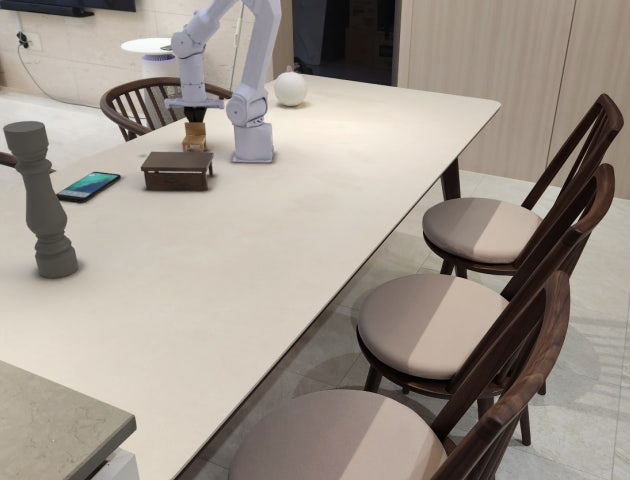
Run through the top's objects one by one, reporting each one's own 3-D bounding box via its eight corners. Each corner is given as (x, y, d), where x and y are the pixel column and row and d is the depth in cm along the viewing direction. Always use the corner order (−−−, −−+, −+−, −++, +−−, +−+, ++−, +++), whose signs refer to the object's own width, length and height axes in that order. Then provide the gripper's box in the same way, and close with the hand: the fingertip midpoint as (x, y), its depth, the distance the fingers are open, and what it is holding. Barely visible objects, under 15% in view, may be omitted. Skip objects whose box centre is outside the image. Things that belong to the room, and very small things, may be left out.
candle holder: (46, 260, 111) (10, 120, 99) (83, 260, 112) (52, 120, 99) (33, 278, 106) (-7, 132, 93) (72, 278, 107) (37, 132, 94)
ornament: (279, 99, 207) (278, 61, 201) (310, 102, 206) (309, 64, 200) (271, 108, 199) (269, 68, 192) (303, 110, 198) (302, 71, 191)
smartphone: (52, 195, 133) (94, 170, 146) (53, 199, 134) (94, 174, 146) (82, 199, 132) (122, 174, 145) (83, 203, 132) (122, 177, 145)
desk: (215, 174, 149) (213, 152, 146) (208, 191, 141) (206, 167, 138) (154, 174, 148) (151, 151, 145) (144, 190, 140) (140, 167, 137)
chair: (207, 149, 164) (205, 122, 160) (203, 157, 159) (201, 129, 155) (187, 148, 163) (184, 122, 160) (183, 156, 158) (180, 129, 155)
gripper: (224, 79, 161) (228, 131, 168) (166, 77, 160) (172, 130, 167) (220, 86, 155) (225, 140, 162) (159, 84, 154) (167, 139, 161)
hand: (198, 135), depth 164 cm, fingers closed, pressing on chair
